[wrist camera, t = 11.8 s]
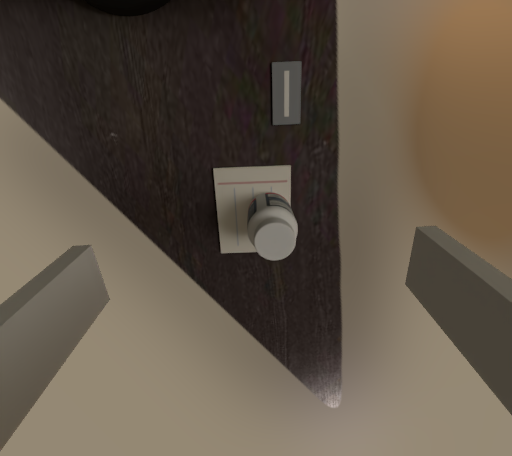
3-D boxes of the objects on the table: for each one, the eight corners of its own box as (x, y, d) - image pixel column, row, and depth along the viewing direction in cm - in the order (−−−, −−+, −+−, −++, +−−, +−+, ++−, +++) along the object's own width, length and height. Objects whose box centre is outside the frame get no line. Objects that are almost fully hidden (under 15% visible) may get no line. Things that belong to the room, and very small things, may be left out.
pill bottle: (259, 238, 36) (261, 275, 28) (240, 202, 34) (236, 231, 26) (297, 220, 35) (310, 253, 27) (280, 183, 34) (288, 206, 25)
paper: (213, 168, 33) (213, 168, 33) (290, 165, 33) (290, 165, 33) (221, 251, 37) (221, 253, 37) (289, 249, 37) (289, 250, 37)
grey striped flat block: (271, 62, 29) (272, 62, 29) (301, 61, 29) (301, 61, 29) (272, 124, 31) (272, 125, 31) (299, 123, 31) (300, 123, 31)
